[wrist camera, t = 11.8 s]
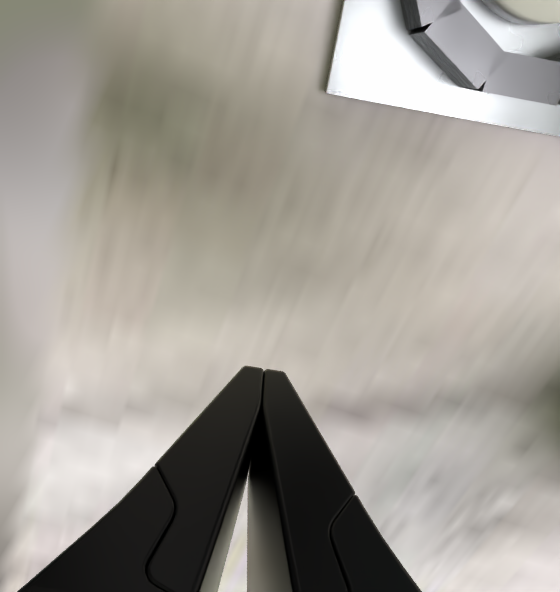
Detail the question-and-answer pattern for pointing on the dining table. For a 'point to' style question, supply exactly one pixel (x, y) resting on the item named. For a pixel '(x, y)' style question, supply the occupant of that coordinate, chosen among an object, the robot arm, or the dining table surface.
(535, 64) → the square ring flange
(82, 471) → the dining table surface
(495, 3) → the cap
